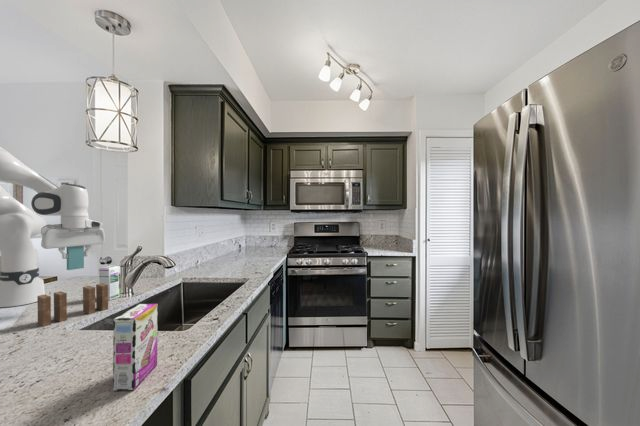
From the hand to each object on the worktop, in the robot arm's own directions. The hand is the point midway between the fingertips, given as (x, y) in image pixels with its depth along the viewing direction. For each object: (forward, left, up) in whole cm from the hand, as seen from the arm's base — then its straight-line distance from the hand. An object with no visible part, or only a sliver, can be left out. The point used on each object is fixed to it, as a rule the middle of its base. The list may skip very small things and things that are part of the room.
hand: (75, 257), depth 119 cm
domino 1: (+10, -13, -21) cm, 27 cm away
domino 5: (+10, +5, -21) cm, 24 cm away
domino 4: (+10, +1, -21) cm, 23 cm away
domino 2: (+10, -8, -21) cm, 25 cm away
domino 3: (0, 0, -5) cm, 5 cm away
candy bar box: (+72, -15, -21) cm, 77 cm away
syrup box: (-3, +14, -21) cm, 26 cm away
